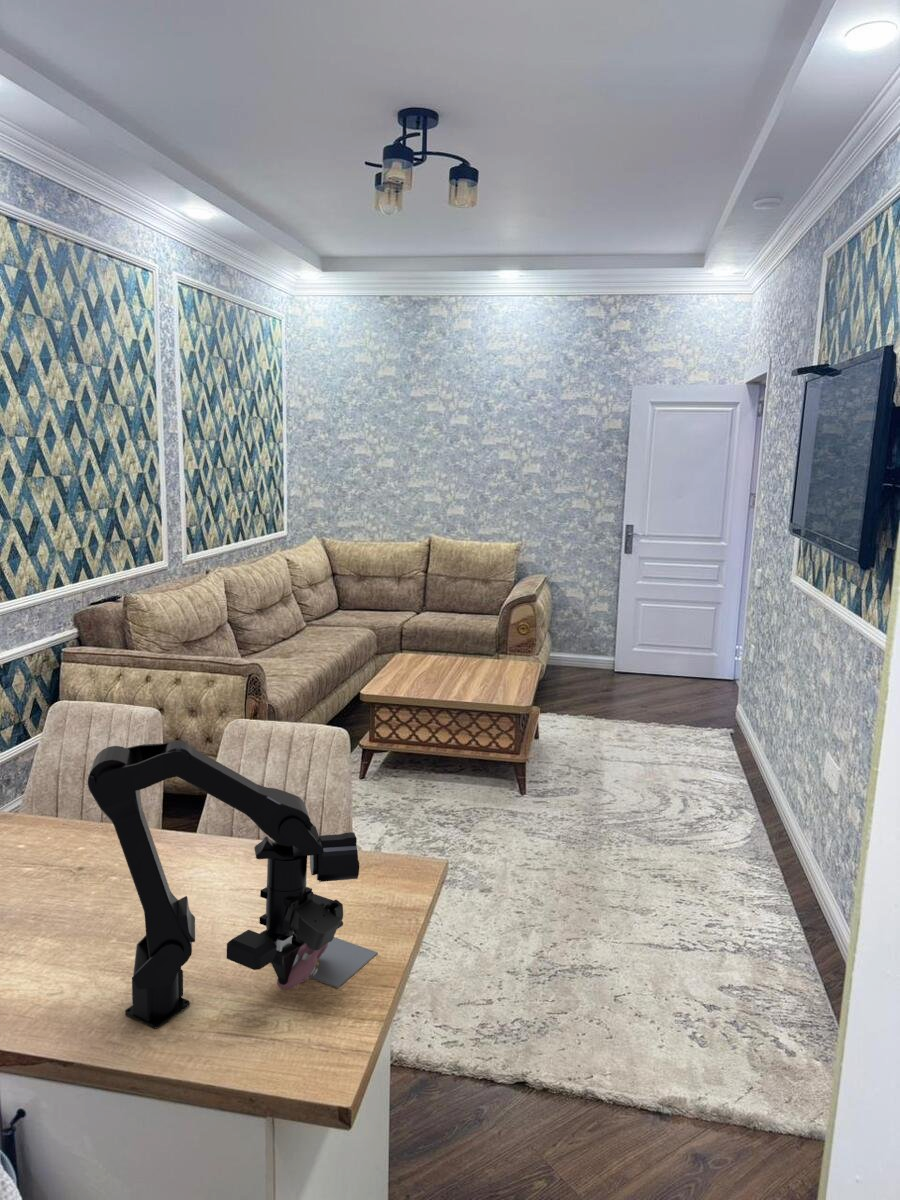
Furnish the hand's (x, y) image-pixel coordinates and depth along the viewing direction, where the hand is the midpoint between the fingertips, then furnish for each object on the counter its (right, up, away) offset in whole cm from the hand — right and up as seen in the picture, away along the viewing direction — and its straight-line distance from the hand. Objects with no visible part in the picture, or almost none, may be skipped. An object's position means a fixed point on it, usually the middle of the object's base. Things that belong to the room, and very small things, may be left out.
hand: (283, 983), depth 126 cm
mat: (+4, 0, +10) cm, 11 cm away
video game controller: (+2, -1, +5) cm, 6 cm away
